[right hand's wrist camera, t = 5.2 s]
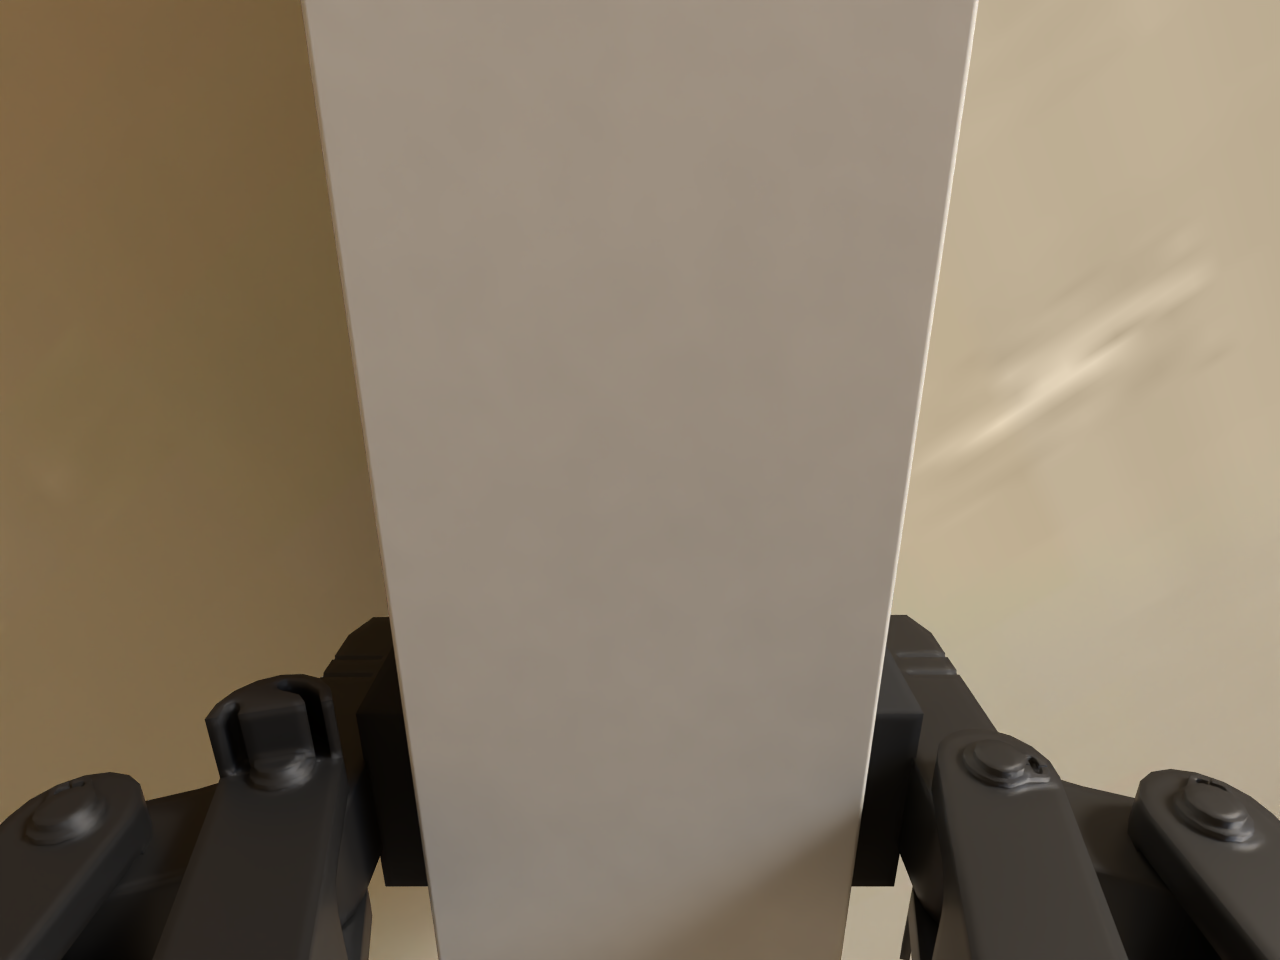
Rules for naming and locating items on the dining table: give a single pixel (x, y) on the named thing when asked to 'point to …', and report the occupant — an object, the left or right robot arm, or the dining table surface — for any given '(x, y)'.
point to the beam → (639, 439)
